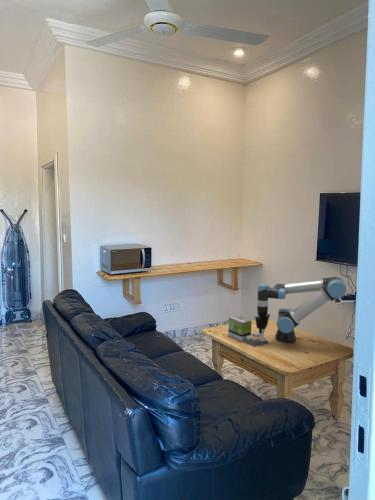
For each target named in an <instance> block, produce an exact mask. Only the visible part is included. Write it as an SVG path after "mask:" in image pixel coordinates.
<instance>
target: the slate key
mask: <svg viewBox="0 0 375 500" xmlns="http://www.w3.org/2000/svg"><path fill="white" fill-rule="evenodd" d="M251 336H253V337H255V336H256V337H259V336H260V333H259V332H255V333H251Z"/></svg>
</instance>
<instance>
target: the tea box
mask: <svg viewBox="0 0 375 500" xmlns="http://www.w3.org/2000/svg"><path fill="white" fill-rule="evenodd" d="M227 329H228V337H231V338H234V339H235V340H237V341H240V342H243V339H245V338H246V336H252V320H251V319H248V318H245V317H244V316H239V315H235V316H230V317H228V328H227Z"/></svg>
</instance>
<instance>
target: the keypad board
mask: <svg viewBox="0 0 375 500" xmlns="http://www.w3.org/2000/svg"><path fill="white" fill-rule="evenodd" d="M242 342H244V343H245V344H247V345H249V344H250V346H252V347H259V346H263V345H264V346H265V345H268V344H269V340H267V339H266V340H265V341H263V342H260V341H259V342H258V343H253V342H251V341H249V340H247V339H246V338H245V339H243V341H242Z"/></svg>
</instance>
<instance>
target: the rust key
mask: <svg viewBox="0 0 375 500" xmlns="http://www.w3.org/2000/svg"><path fill="white" fill-rule="evenodd" d="M259 340H260V338H258V337H256V336H255V337H251V342H253V343H258V342H259Z"/></svg>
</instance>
